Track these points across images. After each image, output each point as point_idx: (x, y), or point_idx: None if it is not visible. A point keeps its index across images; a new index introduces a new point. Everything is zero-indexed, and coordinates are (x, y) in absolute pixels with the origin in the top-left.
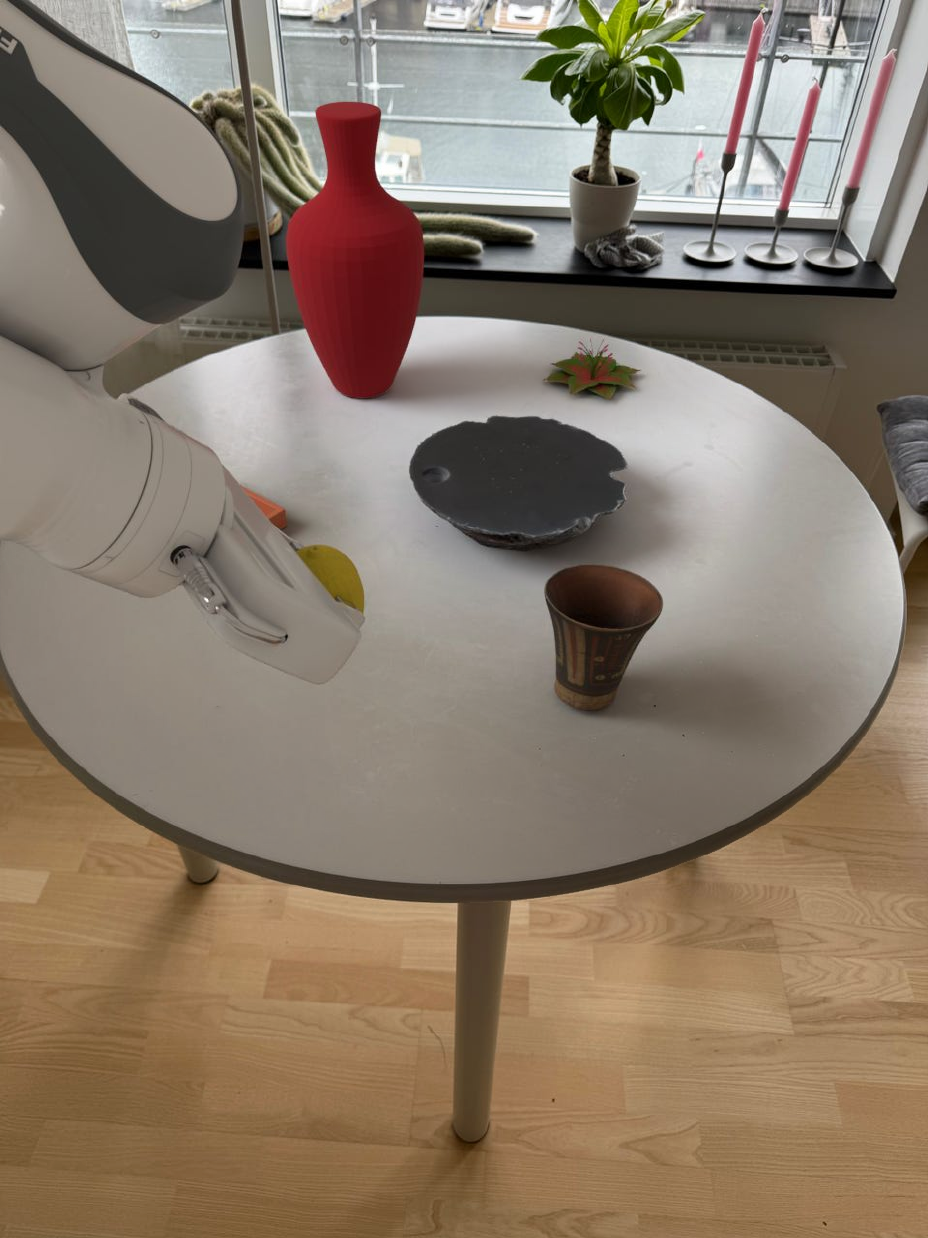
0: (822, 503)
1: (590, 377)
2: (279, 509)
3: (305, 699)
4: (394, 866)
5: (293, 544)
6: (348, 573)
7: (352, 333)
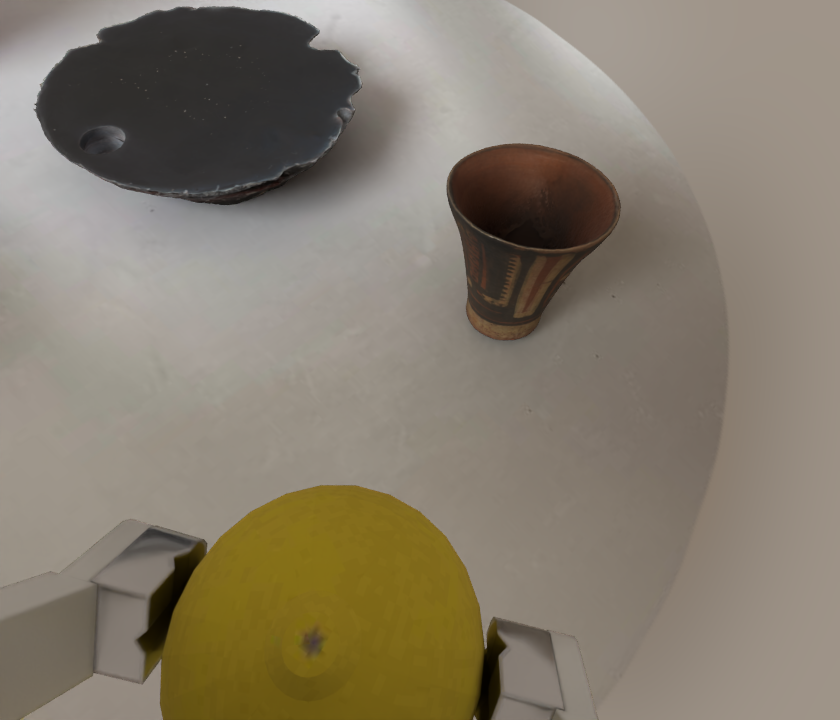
0: (472, 9)
1: None
2: None
3: None
4: None
5: (116, 589)
6: (447, 570)
7: None
